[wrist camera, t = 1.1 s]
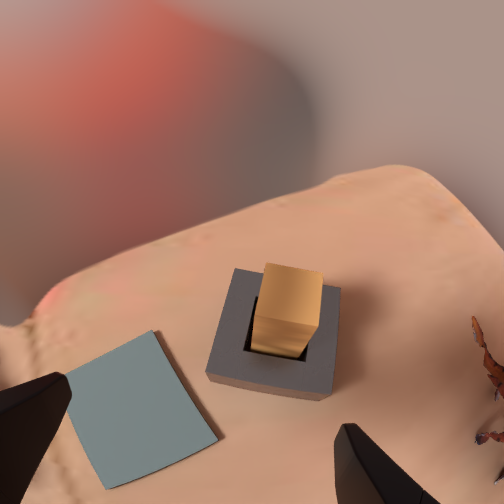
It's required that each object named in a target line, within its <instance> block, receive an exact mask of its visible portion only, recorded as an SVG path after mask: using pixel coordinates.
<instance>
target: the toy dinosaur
mask: <svg viewBox="0 0 504 504" xmlns="http://www.w3.org/2000/svg"><path fill="white" fill-rule="evenodd" d="M472 321H473V326H474V332H475V333H474V332H473V333H474V339H475V341H476V342H477V343H478V344H479V345H480V347H484V348H485V356H484V367H485V368H487V369H488V371H489V372H490V373H491V374H492V375H489V374H487V375H488V377H489V378H490V379H491V381H492V382H493V384H494V385H495V386H496V387H497V390H496V392H495V401H497V400H498V399H499V395H500V394H501V395H502V396H503V398H504V367H503V366H501V365H499V364H498V363H497V362H495V361H494V360H493V358H492V357H491V354H490V353H489V352H488V350H487V347H486V343H485V342H484V338H483V332H482V330H481V328H480V326H479V324H478V322H477V320H476V318H475V317H474V316H472ZM473 326H472V328H473ZM489 437H492V438H493V439H494V440H496V441H498V442H499V441H501V442H504V432H502V433H499V434H498V433H497V432H496V431H493V432H491V433H490V434H489V433H485V434H483V433H482V434H481V435H479V434H477V435H476V437H475V438H476V441H477V444H478V445H481V444H483V443H485V442H486V441H487V440H488V439H489ZM476 441H475V443H476ZM500 479H501V480H502V479H504V475H502V476H501V477H500V478H499V479H498V481H499V480H500ZM498 481H495V484H494V485H496V484H497V483H498Z"/></svg>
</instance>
